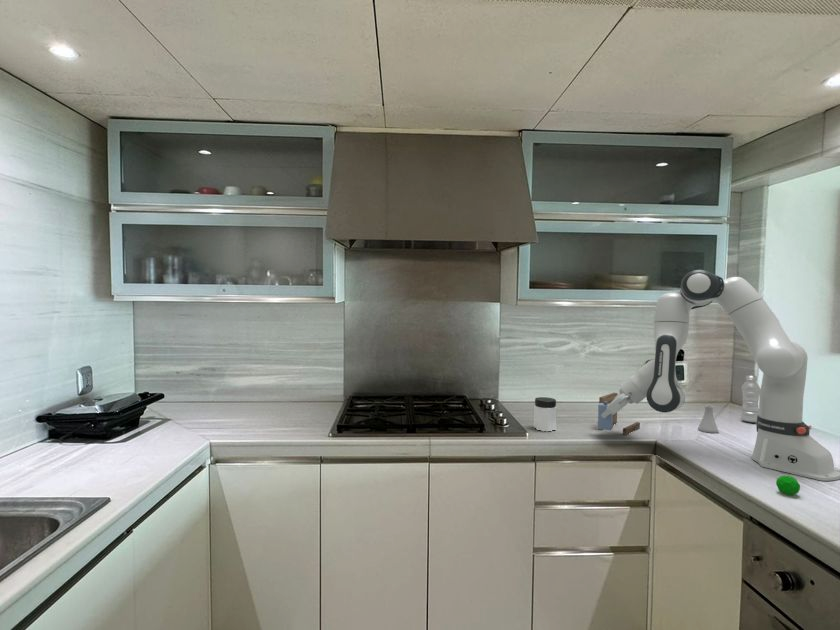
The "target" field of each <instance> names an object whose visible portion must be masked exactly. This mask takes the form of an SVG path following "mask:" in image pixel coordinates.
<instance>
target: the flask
mask: <svg viewBox="0 0 840 630" xmlns="http://www.w3.org/2000/svg"><path fill="white" fill-rule="evenodd" d="M714 408H715V407H714V406H713V405H707V404H706V405H704V413H703V416H702V419H701V421H700V423H699V425H698V427H697V430H698V431H701V432H703V433H711V434H718V433H719V429H718V426H717V423H716V420H715V416H714V412H713V411H714Z"/></svg>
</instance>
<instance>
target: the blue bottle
mask: <svg viewBox="0 0 840 630" xmlns="http://www.w3.org/2000/svg"><path fill="white" fill-rule="evenodd" d="M608 405H609V404H608V401H605V402H604V403H600V404H597V406H598V407H597V408H598V409H597V412H598V413H597V429H598V430H599V429H604V430H605V431H612V430H613V429H614V428H613V427H614V425H613V414H610V415H608V416H607V417H605V418H603V417H602V416H601V414H602V413H603V412H604V411H605V410H606V409H607V408H606V407H607V406H608ZM604 430H603V431H604Z"/></svg>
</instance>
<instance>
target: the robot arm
mask: <svg viewBox="0 0 840 630" xmlns="http://www.w3.org/2000/svg"><path fill="white" fill-rule="evenodd" d="M680 282H681V283H680V289H679V290H678V291H675V292H667V293H663V294H661V295H660V296H659V297H658V299H657V302H656V304H655V305H656V306H655V309H654V311H655V312H654V316H653V335H654V336H653V338H654V345H655V346H654V347H655V348H654V349H655V355H654V356H655V357H654V358H653V359H651V360H649V361H648V362H646V363H645V364H643V365H642V366H641V367H640V368H639V369H638V370H637V371H636V372H635V373H634V374H633V375H631V376H629V377H628V378H627V379H625V380H624V381H623V382H622V383H620V384H619V387H620V389H619V390H618V395H617V396H616V397H615V398H614V400H613V401H612V402H611V403H610V404H609V405H608V406H607V407H606V408H607V409H606V410H605V411H604V412H603V413H602V414H601V416H602V417H603V418H605V417H607V416H608V415H610V414H613V415H614V414H616V413H617V414H618V412H620V411H621V410H622V409H623V408H624V407H626V405H628V404H630V405H633V404H634V403H635V404H637V405H638V404H640V403H641V402H642V401H643V400H645V399H646V401H647V403H648V405H649V406H650V407H651V408H652V409H653V410H655V411H657V412H660V413H671V412H674V411H675V410H678V409H680V408H682V406H683V405H684V404H685V400H686V395H685V392H684V390H683V388H682V387H681V385H680V383H679V380H678V378H677V375H676V366H677V365H676V362H677V356H678V353H679V352H680V350H681V349H682V347H684V345H685V344H686V343H687V339H688V336H689V329H690V328H689V327H690V313H691V310H695V309H698V308H702V307H706V306H709V305H710V304H712V303H713V302H714V303H716V304H718V305H719V306H721V307H722V309H723V311H724V312H725V313H726V315H727V316H728V318H729V319H730V320H731V322H732V323H733V325H734V326H735V328H736V329H737V330H738V332H739V333H740V335H741V337H742V338H743V340H744V342H745V344H746V347H747V348H748V351H749V352H750V353H751V356H752V357H753V359H754V361H755V363H756V365H757V367H758V369H760V371H761V372H762V373H763V374H762V379H761V385H760V395H759V401H758V407H759V415H758V416H757V422H756V424H755V427H756V440H755V443H754V448H753V450H752V453H751V456H750V458H751V459H752V460H753V461H755V462H756V463H758V465H759V466H761V467H763V468H765V469H772V470H775V471H780V472H782V473H783V472H784V473H788V474H792V475H795V476H800V477H804V478H805V477H806V478H810V479H813V480H818V481H822V482H823V481H824V482H828V481H829V482H830V481H836V480H840V468H837V467H835V463H834V459H833V455H832V452H831V451H830V450H829V449H827V448H826V447H825V446H823V445H822V444H821V443H819V442H818V441H817V440H816V439H815V438H813V437H812V436H811V435H810V430H812V427H813V426H812V425H810V424H809V425H807V424H806V423H805V422H804V421H803V414H804V413H803V412H804V409H803V408H804V396H805V387H806V379H807V371H808V370H807V369H808V354H807V351H806V350H805V348H804V347H802V346H801V344H798V343H797V342H794V341H791V339H790V338H789V336H788V334H787V333H786V331H785V330H784V327H783V326H782V325H781V323H780V320H779V318H777V316H776V314H775V313H774V312H773V310H772V309H771V308H770V306H769V305H768V304H767V302H766V301H765V299H763V296H761V294H760V293H759V292H758V291H757V290H756V289H755V287H753V285H751V284H750V282H748V281H747V280H746V279H745V278H743V277H741V276H731V277H727V278H725V279H724V278H722V277H721V276H719V275H717V274H715V273H712V272H711V271H707V270H704V269H696V270H691V271H689V272H688V273H686V274H685V275H684V277H683V278H682V279H681V281H680Z"/></svg>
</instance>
